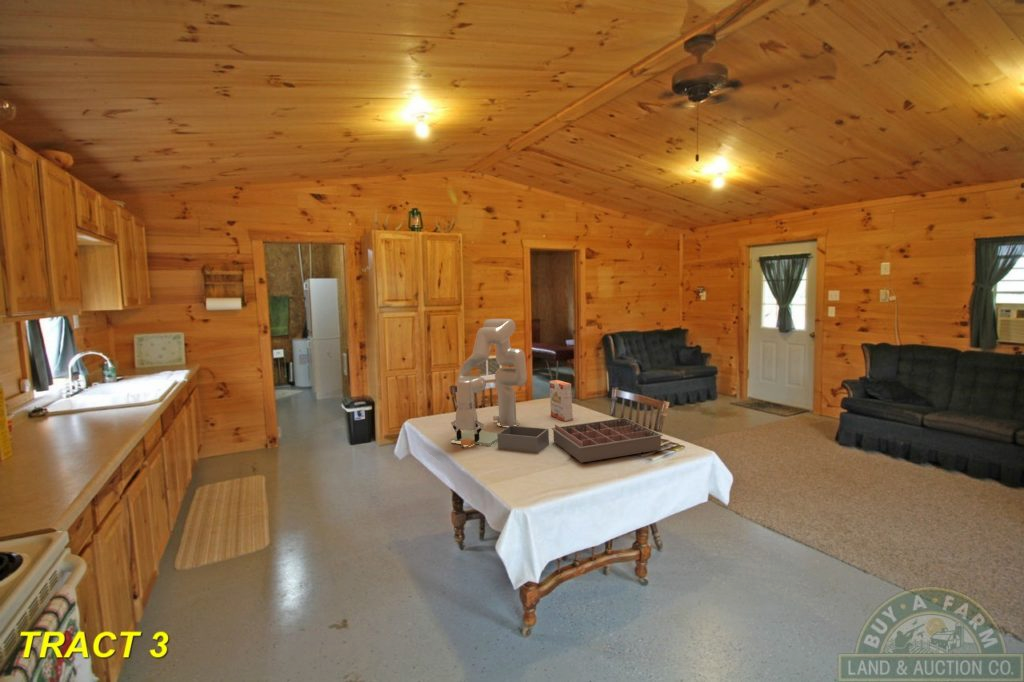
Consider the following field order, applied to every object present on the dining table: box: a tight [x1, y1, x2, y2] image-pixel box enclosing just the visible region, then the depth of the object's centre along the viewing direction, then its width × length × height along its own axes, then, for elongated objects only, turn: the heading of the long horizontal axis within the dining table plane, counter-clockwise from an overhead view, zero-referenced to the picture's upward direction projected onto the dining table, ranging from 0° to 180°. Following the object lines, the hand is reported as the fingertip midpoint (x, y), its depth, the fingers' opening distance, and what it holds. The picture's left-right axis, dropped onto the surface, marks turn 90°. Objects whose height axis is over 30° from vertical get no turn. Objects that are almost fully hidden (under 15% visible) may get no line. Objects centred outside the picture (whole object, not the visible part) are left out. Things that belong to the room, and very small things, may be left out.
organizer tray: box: [550, 417, 663, 463], centre depth 228 cm, size 32×40×10 cm
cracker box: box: [549, 379, 574, 422], centre depth 280 cm, size 14×6×21 cm, turn 28°
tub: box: [497, 425, 550, 454], centre depth 233 cm, size 20×14×8 cm
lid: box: [450, 430, 499, 447], centre depth 245 cm, size 22×20×4 cm
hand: (468, 440), depth 238 cm, fingers open, 9 cm apart
